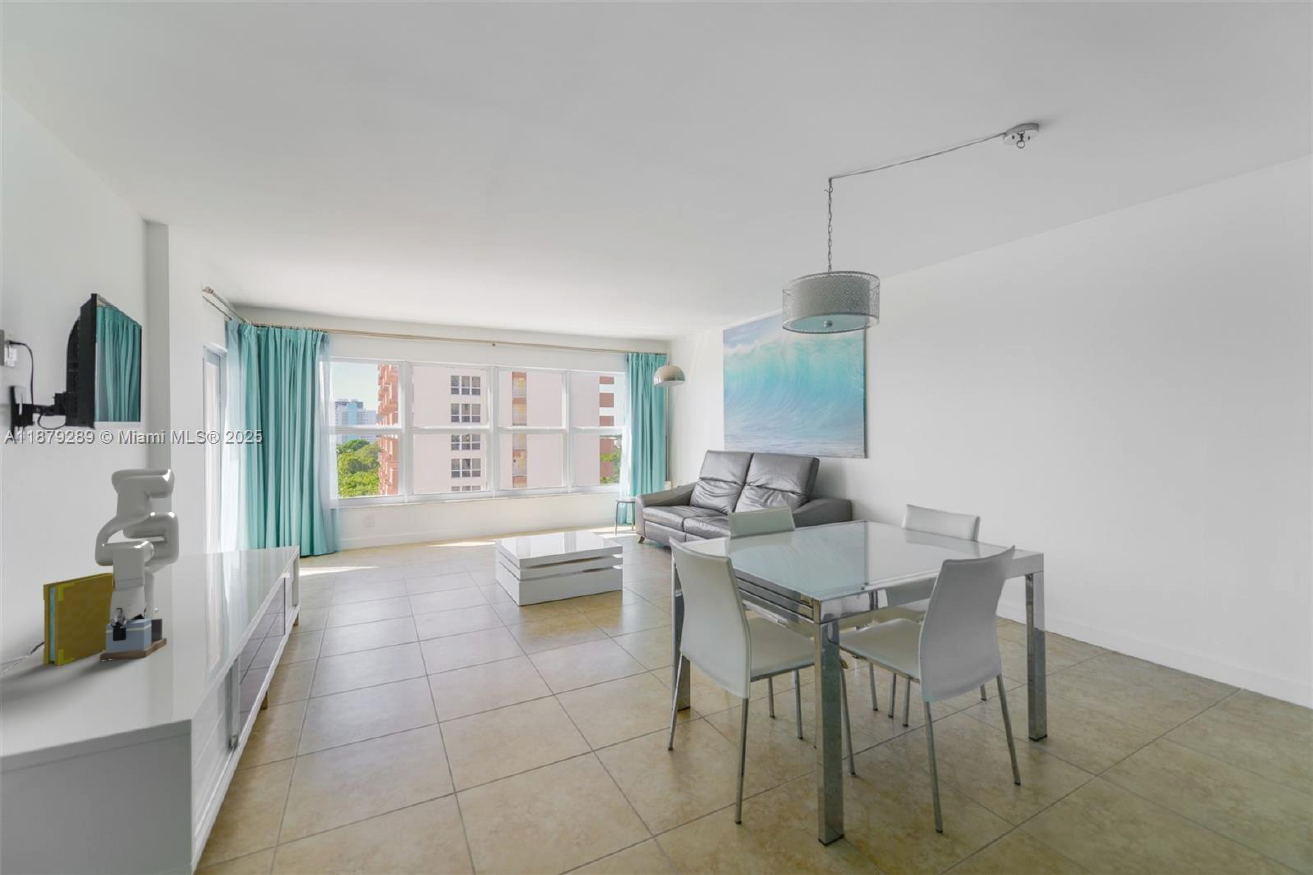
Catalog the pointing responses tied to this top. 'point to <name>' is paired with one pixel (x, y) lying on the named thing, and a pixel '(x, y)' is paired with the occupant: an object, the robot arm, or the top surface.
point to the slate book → (130, 636)
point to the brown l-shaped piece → (155, 645)
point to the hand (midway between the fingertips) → (129, 635)
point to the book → (76, 617)
